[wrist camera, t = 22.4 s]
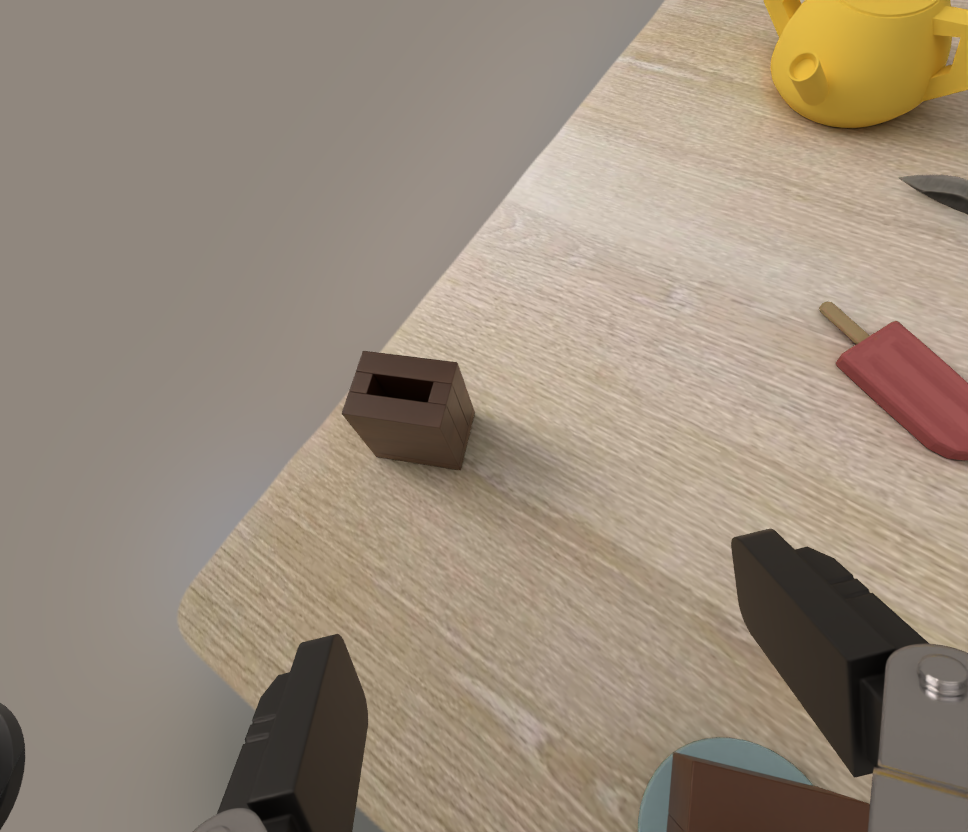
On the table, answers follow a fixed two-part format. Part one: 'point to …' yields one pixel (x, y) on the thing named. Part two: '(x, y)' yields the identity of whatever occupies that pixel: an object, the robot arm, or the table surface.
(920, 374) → the popsicle
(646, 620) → the table surface
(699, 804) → the slotted wooden stand
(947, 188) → the knife
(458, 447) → the knife block
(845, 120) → the teapot
